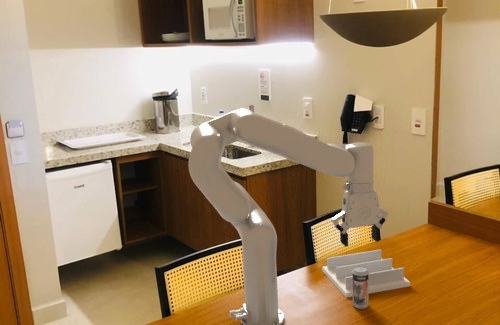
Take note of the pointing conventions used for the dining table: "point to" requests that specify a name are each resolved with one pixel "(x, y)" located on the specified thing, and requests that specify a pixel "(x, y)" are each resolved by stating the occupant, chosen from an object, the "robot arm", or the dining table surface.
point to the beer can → (360, 287)
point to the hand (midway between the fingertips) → (360, 242)
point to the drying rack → (378, 268)
